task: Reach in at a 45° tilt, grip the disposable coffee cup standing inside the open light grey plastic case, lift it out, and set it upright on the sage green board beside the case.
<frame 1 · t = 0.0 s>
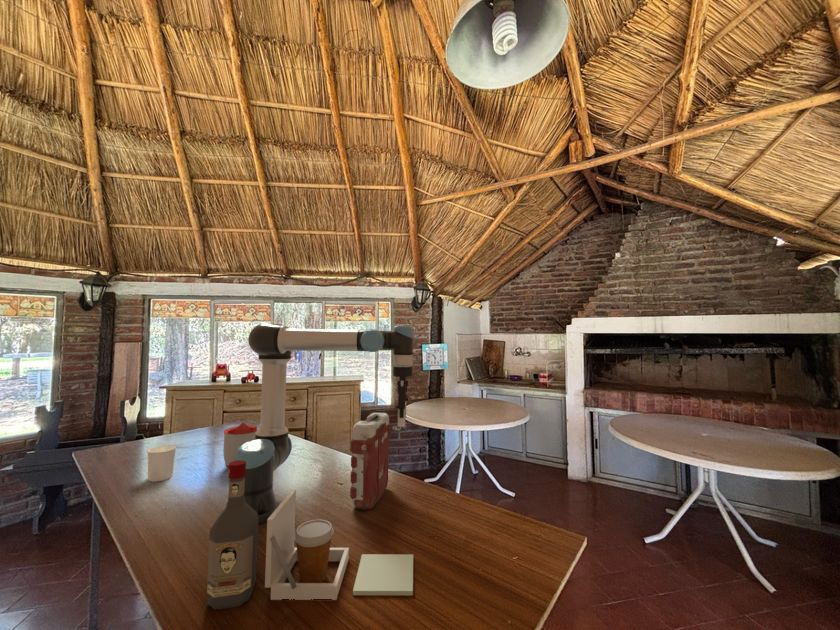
hand: (402, 422, 135), 28 cm above the table, tool pointing down, fingers open, 13 cm apart
first aid kit: (371, 499, 133), on the table
candle holder: (160, 478, 150), on the table
citrus juicer: (243, 466, 164), on the table
equipment case: (312, 577, 89), on the table
disposable coffee cup: (312, 578, 89), resting in equipment case
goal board: (385, 575, 90), on the table
liquor: (232, 595, 83), on the table
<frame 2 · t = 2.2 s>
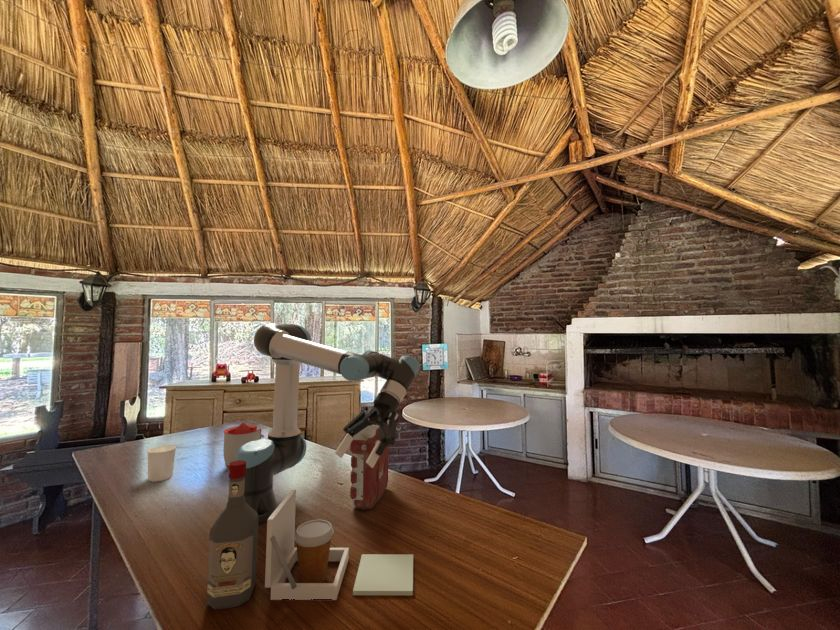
hand: (352, 460, 100), 26 cm above the table, tool tilted 45°, fingers open, 13 cm apart
nothing on the table moved.
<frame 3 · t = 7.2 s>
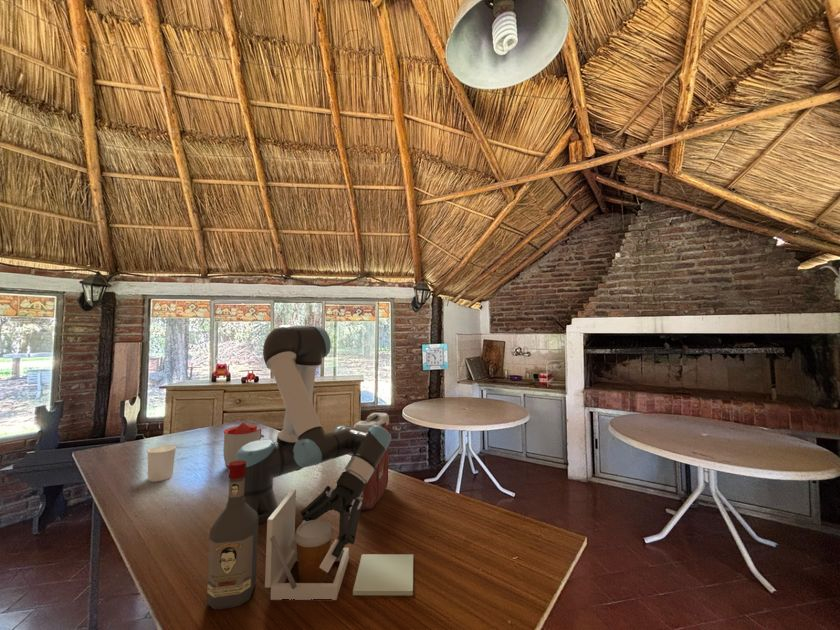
hand: (306, 558, 87), 6 cm above the table, tool tilted 45°, fingers open, 13 cm apart
nothing on the table moved.
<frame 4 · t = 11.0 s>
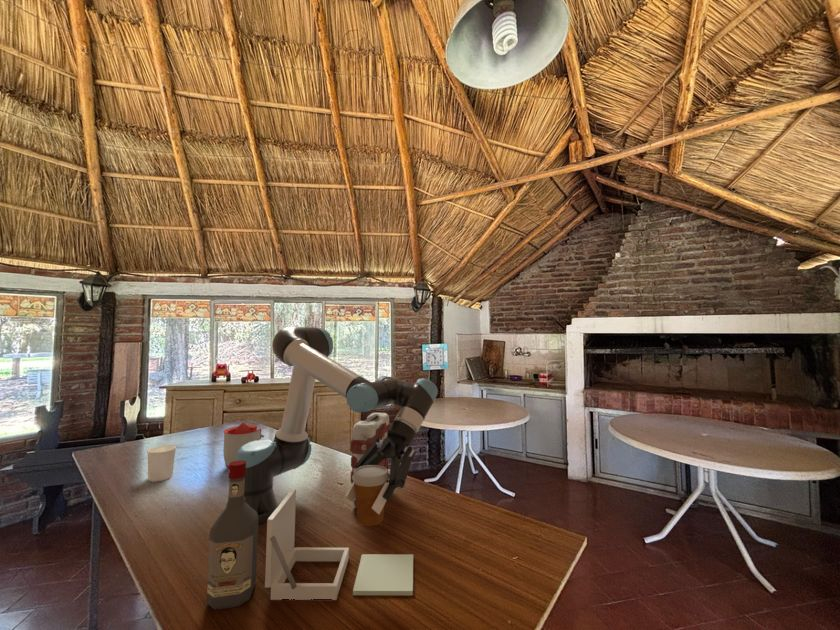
hand: (361, 504, 88), 19 cm above the table, tool tilted 45°, fingers closed on disposable coffee cup, 9 cm apart
disposable coffee cup: (370, 520, 90), point 14 cm above the table, touching gripper
everything else where it was.
when the fingers open (7 cm above the table, at t = 14.5 s): disposable coffee cup drops 1 cm, resting on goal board.
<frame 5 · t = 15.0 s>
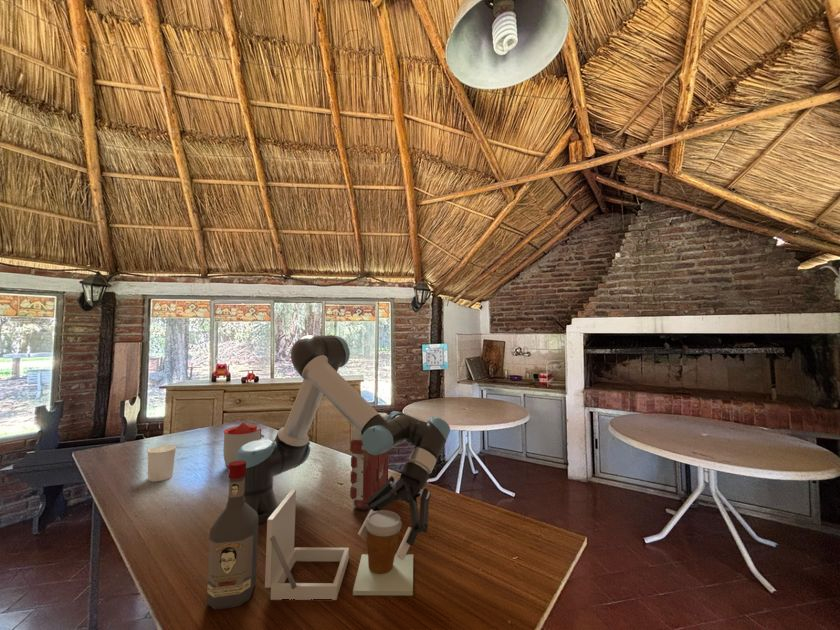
hand: (379, 546, 89), 8 cm above the table, tool tilted 45°, fingers open, 13 cm apart
disposable coffee cup: (380, 566, 92), point 1 cm above the table, touching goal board, gripper
everything else where it was.
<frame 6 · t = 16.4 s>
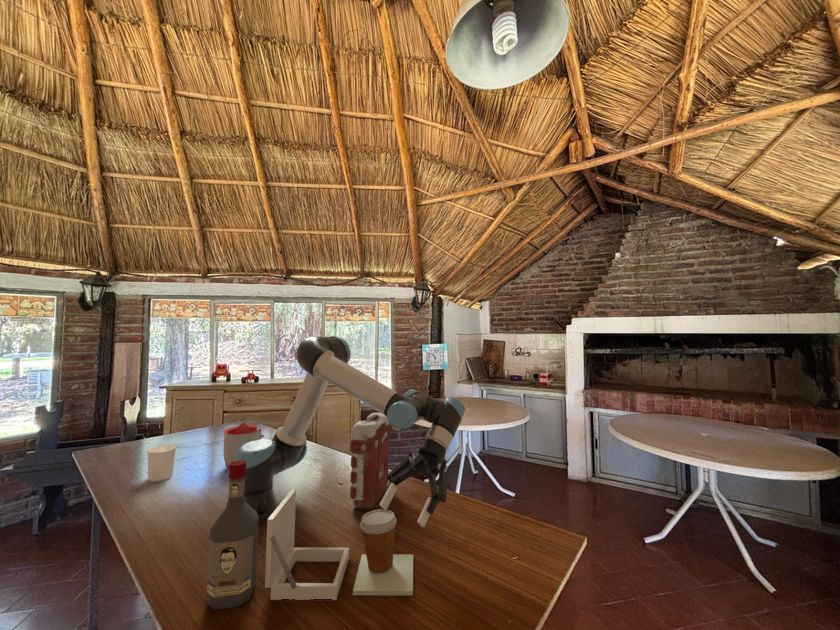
hand: (400, 515, 94), 13 cm above the table, tool tilted 45°, fingers open, 13 cm apart
disposable coffee cup: (380, 566, 92), point 1 cm above the table, touching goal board
everything else where it was.
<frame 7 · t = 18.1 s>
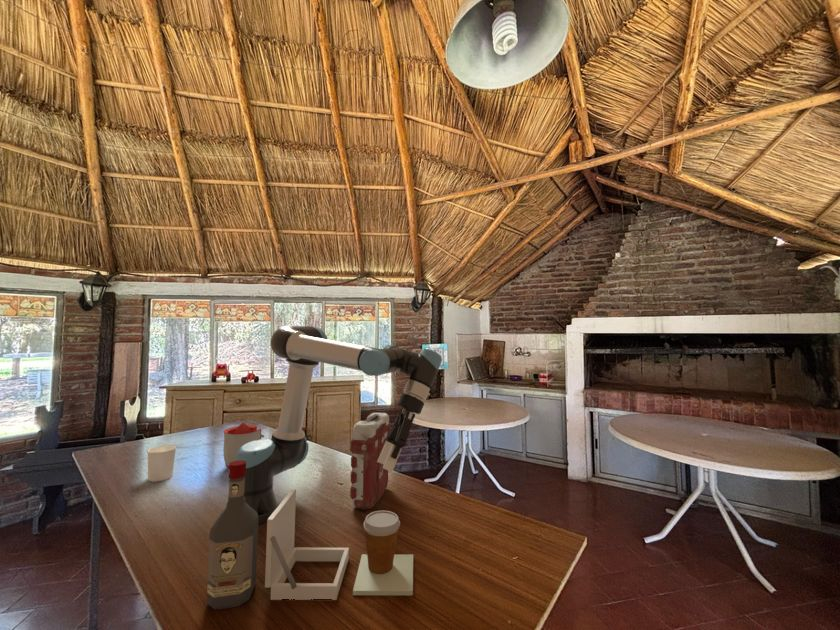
hand: (384, 466, 102), 23 cm above the table, tool tilted 30°, fingers open, 13 cm apart
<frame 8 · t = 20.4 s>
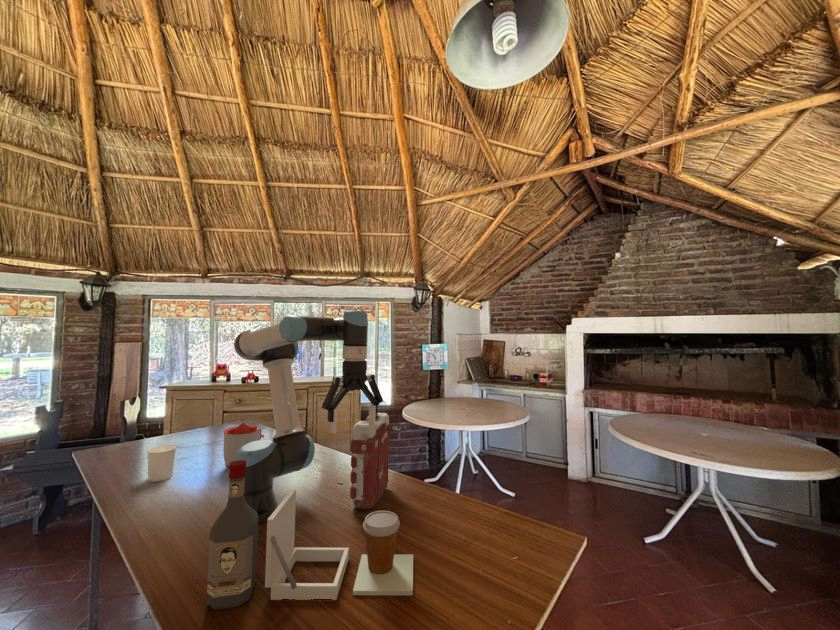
hand: (353, 429, 110), 32 cm above the table, tool pointing down, fingers open, 13 cm apart
nothing on the table moved.
at the end: disposable coffee cup inside the target area on the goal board (2.3 cm from its centre), point 0.8 cm above the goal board's base; disposable coffee cup tilted 1°; the gripper is holding nothing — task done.
